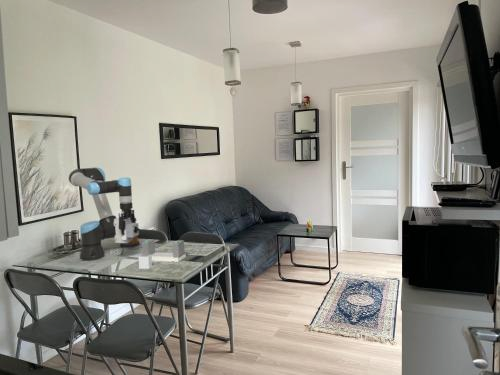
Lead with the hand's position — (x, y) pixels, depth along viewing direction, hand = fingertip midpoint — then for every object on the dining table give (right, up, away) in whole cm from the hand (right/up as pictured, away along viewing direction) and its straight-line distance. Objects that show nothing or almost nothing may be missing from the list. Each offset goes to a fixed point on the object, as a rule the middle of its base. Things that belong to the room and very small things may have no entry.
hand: (128, 238), depth 242 cm
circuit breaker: (0, -2, 0) cm, 2 cm away
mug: (-11, -11, +41) cm, 43 cm away
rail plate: (+23, -13, +1) cm, 26 cm away
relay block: (+16, -15, -17) cm, 27 cm away
